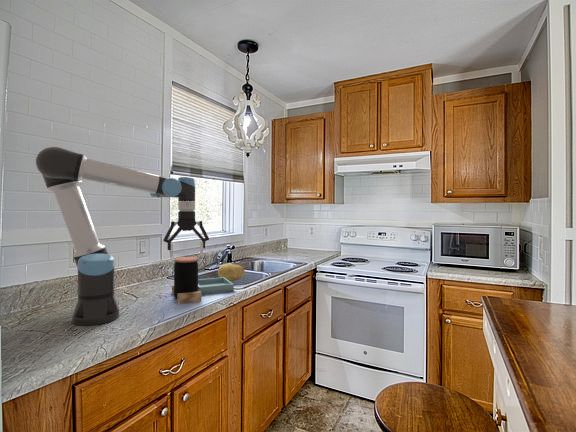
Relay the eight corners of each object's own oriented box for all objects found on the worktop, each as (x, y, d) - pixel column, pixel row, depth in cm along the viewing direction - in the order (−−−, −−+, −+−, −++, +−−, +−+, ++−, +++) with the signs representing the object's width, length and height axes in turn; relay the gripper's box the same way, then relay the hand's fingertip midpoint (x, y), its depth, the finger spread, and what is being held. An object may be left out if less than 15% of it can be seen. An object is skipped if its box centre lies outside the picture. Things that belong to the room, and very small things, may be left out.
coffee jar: (201, 294, 155) (201, 257, 155) (192, 300, 145) (192, 260, 144) (179, 293, 156) (180, 256, 156) (169, 299, 146) (169, 260, 145)
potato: (222, 277, 191) (222, 262, 191) (245, 279, 188) (246, 263, 188) (215, 281, 182) (215, 264, 181) (239, 283, 178) (239, 266, 178)
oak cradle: (177, 303, 140) (178, 294, 140) (171, 293, 157) (171, 284, 156) (201, 301, 144) (201, 292, 144) (192, 290, 161) (193, 283, 161)
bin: (199, 294, 155) (199, 287, 155) (192, 286, 170) (192, 280, 170) (233, 290, 162) (233, 284, 162) (224, 283, 178) (224, 277, 177)
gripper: (158, 210, 140) (158, 259, 141) (215, 210, 152) (215, 255, 152) (157, 210, 147) (157, 256, 148) (211, 210, 158) (211, 253, 159)
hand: (186, 256), depth 150 cm, fingers open, 13 cm apart
